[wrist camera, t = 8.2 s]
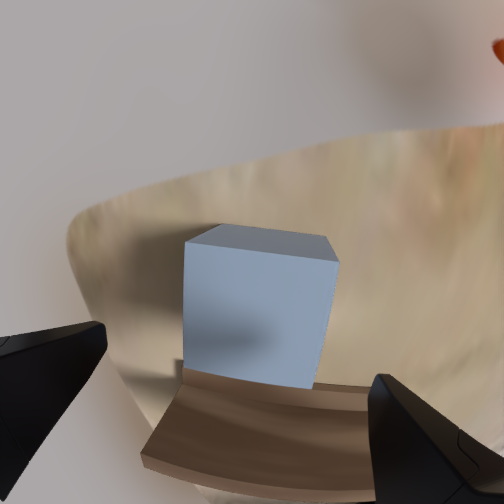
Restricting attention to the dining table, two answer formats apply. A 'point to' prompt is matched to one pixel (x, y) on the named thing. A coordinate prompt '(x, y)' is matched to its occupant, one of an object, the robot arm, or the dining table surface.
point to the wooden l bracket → (266, 439)
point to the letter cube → (257, 303)
